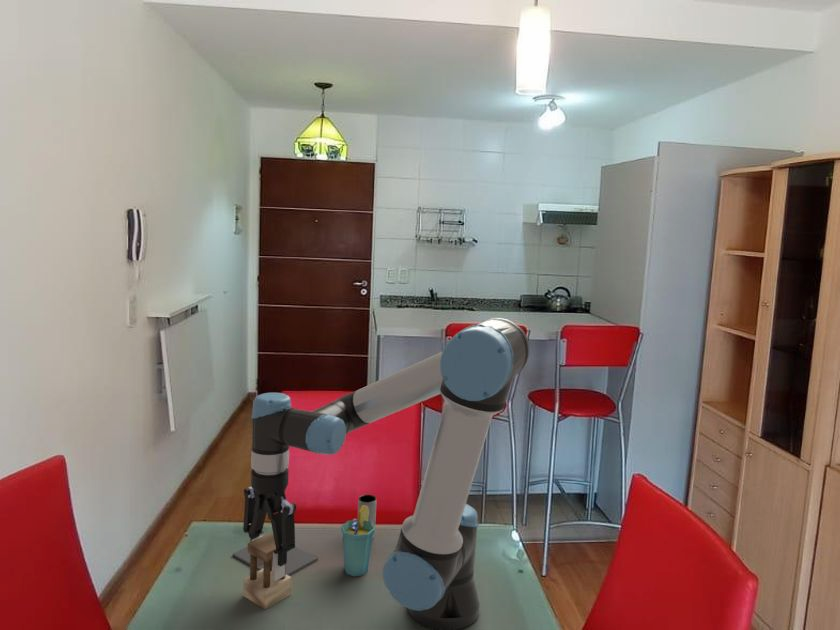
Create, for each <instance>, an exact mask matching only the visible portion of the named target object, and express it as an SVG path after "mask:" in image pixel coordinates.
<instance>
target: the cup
mask: <svg viewBox="0 0 840 630" xmlns="http://www.w3.org/2000/svg"><path fill="white" fill-rule="evenodd" d="M368 518H369V508H368V506H366V505H362V507H361V509H360V511H359V514H358V513H357V518H353V519H350V520H347V521H346V522H345V523H343V524H342V525H341V526H340V529H341V533H342V543H343V560H344V561H343V567H344V571H345V574H346V575H349V576H352V577H359V576H360V577H361V576H364V575H365V574H366V573H367V572H368V570H369V563H370V557H371V550H372V544H373V543H372V542H373V541H372V540H373V539H372V536H373V534H374V531H375V532H376V528H375V529H374V527H373V525H372V523H371V522H368Z"/></svg>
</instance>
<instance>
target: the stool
mask: <svg viewBox="0 0 840 630" xmlns="http://www.w3.org/2000/svg"><path fill="white" fill-rule="evenodd" d="M281 545H282V544H281ZM247 547H248V553H250V565H249V576H250V580H256V579H257V571H258V570H257V558H259V559H261V560H263V561H264V569H263V587H264V588H268V587H270V572H271V571H272V560H273V551H274V550H276V546H275V541H274V535H273V533H271V532H268V533H266V534H265V535H263V536H262V537H260V538H258V539H256V540H254V541H251V542H248V543H247ZM285 575H286V564H285ZM280 579H285V576H284V577H282V578H280Z"/></svg>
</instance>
